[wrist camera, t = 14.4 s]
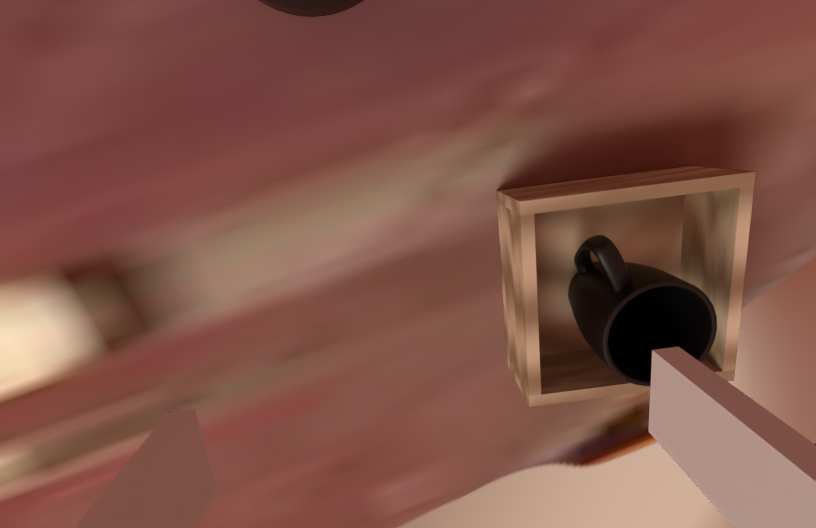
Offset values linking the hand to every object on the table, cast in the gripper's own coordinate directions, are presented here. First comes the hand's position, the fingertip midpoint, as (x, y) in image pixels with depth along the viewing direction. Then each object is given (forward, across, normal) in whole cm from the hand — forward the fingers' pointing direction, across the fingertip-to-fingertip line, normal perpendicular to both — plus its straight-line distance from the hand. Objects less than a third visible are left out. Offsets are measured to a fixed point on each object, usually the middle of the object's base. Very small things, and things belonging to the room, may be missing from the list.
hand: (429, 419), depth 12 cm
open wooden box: (+27, +17, -6) cm, 32 cm away
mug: (+26, +16, -6) cm, 31 cm away
